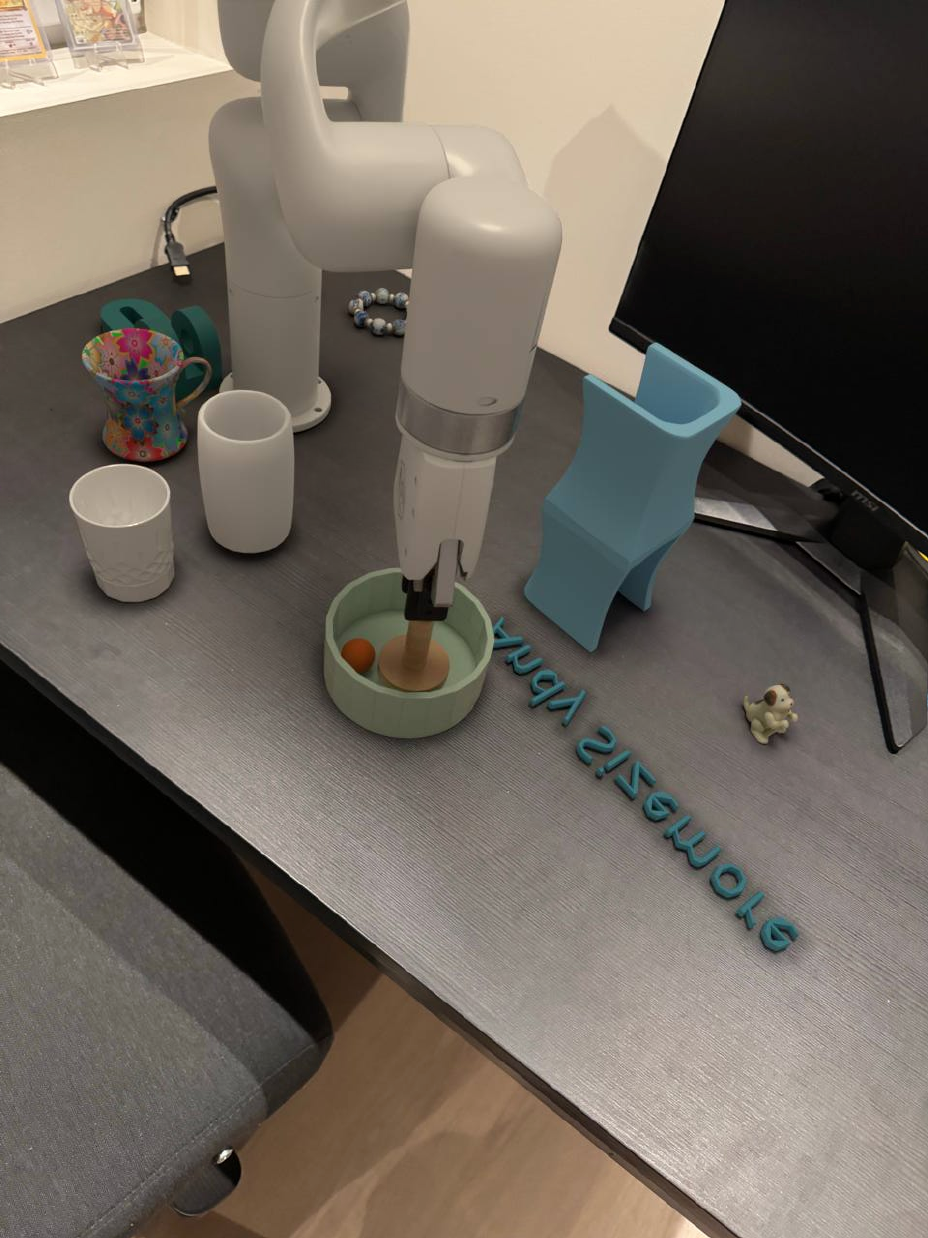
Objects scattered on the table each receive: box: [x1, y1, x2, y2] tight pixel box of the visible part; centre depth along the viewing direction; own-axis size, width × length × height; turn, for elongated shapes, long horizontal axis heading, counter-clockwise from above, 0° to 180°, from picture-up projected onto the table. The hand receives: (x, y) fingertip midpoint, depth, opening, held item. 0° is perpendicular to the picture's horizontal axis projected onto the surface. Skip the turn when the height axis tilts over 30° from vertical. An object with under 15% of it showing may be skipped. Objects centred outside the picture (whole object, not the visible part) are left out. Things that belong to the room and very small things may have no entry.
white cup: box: [68, 463, 175, 603], centre depth 74 cm, size 8×8×10 cm
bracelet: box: [347, 287, 409, 336], centre depth 113 cm, size 10×10×2 cm
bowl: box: [323, 567, 496, 739], centre depth 73 cm, size 14×14×6 cm
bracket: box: [99, 298, 224, 402], centre depth 97 cm, size 18×7×8 cm, turn 42°
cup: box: [196, 390, 295, 554], centre depth 78 cm, size 8×8×14 cm
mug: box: [81, 329, 211, 463], centre depth 86 cm, size 12×9×11 cm
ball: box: [341, 638, 376, 673], centre depth 73 cm, size 3×3×3 cm
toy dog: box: [742, 683, 799, 745], centre depth 76 cm, size 4×5×5 cm
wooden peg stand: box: [377, 569, 450, 692], centre depth 66 cm, size 6×6×14 cm
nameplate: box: [492, 616, 800, 952], centre depth 72 cm, size 37×1×5 cm
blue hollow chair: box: [523, 342, 742, 653], centre depth 76 cm, size 10×10×25 cm
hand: (423, 603), depth 65 cm, fingers closed on wooden peg stand
